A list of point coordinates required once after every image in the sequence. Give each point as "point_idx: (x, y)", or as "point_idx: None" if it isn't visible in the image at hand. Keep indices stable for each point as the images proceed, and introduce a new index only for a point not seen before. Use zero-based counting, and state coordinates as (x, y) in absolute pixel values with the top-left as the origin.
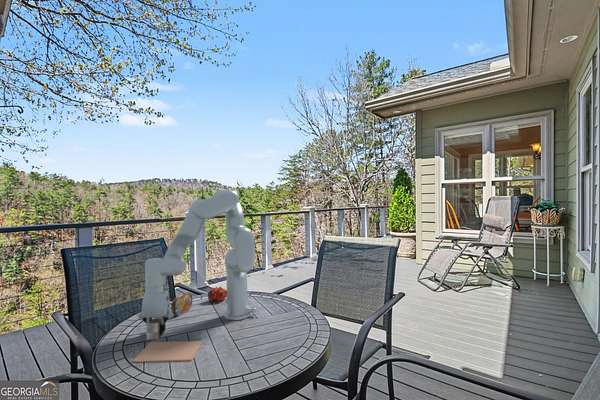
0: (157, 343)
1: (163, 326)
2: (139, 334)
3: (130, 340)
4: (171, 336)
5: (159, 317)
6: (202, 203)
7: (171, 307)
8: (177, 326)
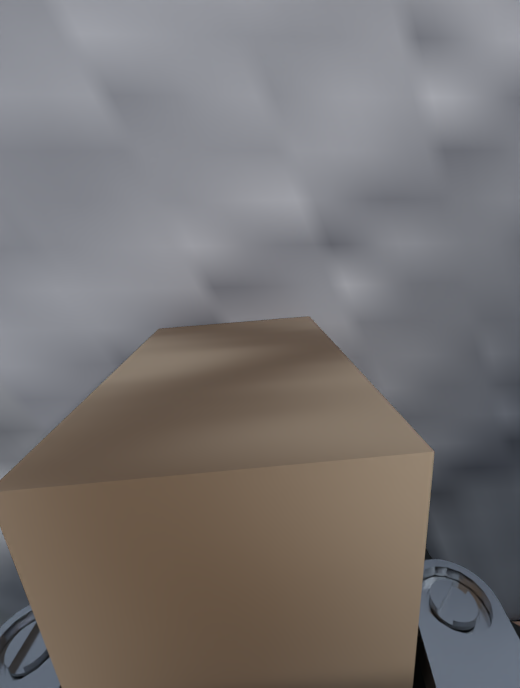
0: None
1: None
2: (5, 469)
3: (22, 605)
4: (461, 500)
5: (252, 607)
6: None
7: None
8: (462, 166)
